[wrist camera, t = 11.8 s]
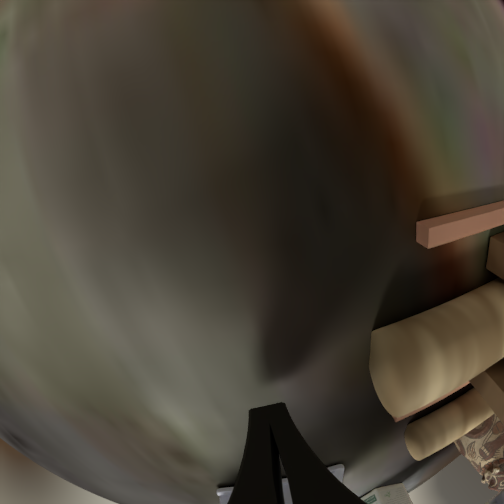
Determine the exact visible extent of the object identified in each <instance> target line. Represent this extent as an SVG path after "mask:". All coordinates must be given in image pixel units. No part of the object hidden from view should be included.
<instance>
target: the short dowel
mask: <svg viewBox="0 0 504 504" xmlns="http://www.w3.org/2000/svg"><path fill="white" fill-rule="evenodd" d="M493 414H494V412H493V410H492V409H491V408H490V406H489V405H488V404H487V403H486V401H485V400H484V399H483V398H482V396H481V395H480V394H479V393H478V391H477V390H476V389H475V388H473V389H471V390H469V391H468V392H466V393H465V394H463V395H461V396H460V397H458V398H457V399H455V400H453V401H451V402H450V403H448V404H446V405H444V406H443V407H441V408H439V409H437V410H435V411H434V412H432V413H430V414H428V415H426V416H424V417H422V418H420V419H418V420H416V421H414V422H412V423H410V424H408V426H407V428H406V430H405V433H404V436H405V442H406V445H407V448H408V450H409V452H410V454H411V455H412V457H413V458H414V459H416V460H418V461H420V460H422V459H424V458H426V457H428V456H430V455H431V454H433V453H435V452H437V451H439V450H440V449H442V448H444V447H445V446H447V445H449V444H450V443H452V442H454V441H455V440H457V439H459V438H460V437H462V436H463V435H465V434H466V433H468V432H469V431H471V430H472V429H474V428H475V427H476V426H478V425H479V424H481V423H482V422H483V421H485V420H486V419H488V418H489V417H490V416H492V415H493Z"/></svg>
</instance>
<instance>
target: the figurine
mask: <svg viewBox="0 0 504 504" xmlns="http://www.w3.org/2000/svg"><path fill="white" fill-rule="evenodd" d="M454 443H455V445H456V447H457V449H458V450H459V452H460V453H461V454H462V455H464V456H465V457H466V458H467V459H468V460H469V461H470V463H471V464H472V465H473V466H474V468H475V469H476V470H477V471H478V472H479V473H480V474H481V475H483V478H482V480H481V482H482V483H488V484H489V487H488V488H489V489H491V490H496V491H498V492H500V491H502V490H503V489H504V425H503V423H502V422H501V421H500V419H499V418H498V417H497V415H496V414H495V413H494V414H493V415H492V416H490V417H489V418H488V419H486V420H485V421H483V422H482V423H481V424H479V425H478V426H476V427H475V428H474V429H472V430H471V431H469V432H468V433H466V434H465V435H463V436H462V437H460V438H459V439H457V440H455V441H454Z"/></svg>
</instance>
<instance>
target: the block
mask: <svg viewBox="0 0 504 504" xmlns="http://www.w3.org/2000/svg"><path fill="white" fill-rule="evenodd" d="M486 269H488V270H490V271H491V272H493V273H494V274H496V275H497V276H499V277H500V278H502V279H503V280H504V232H502V233H499V234H496V235H494V236H491V237H490V244H489V252H488V259H487V265H486ZM469 382H470V383H471V384H472V385H473V387H474V388H475V389H476V390H477V391H478V393H479V394H480V395H481V396H482V398H483V399H484V400H485V401H486V403H487V404H488V405H489V406H490V408H491V409H492V410H493V412H494V413H495V414H496V415H497V417H498V418H499V419H500V421H501V422H502V423H503V425H504V357H503V358H502V359H500V360H499V361H497V362H496V363H495V364H493V365H492V366H490V367H489V368H487V369H486V370H485V371H483V372H482V373H480V374H479V375H477V376H475V377H474V378H472V379H471V380H469Z"/></svg>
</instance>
